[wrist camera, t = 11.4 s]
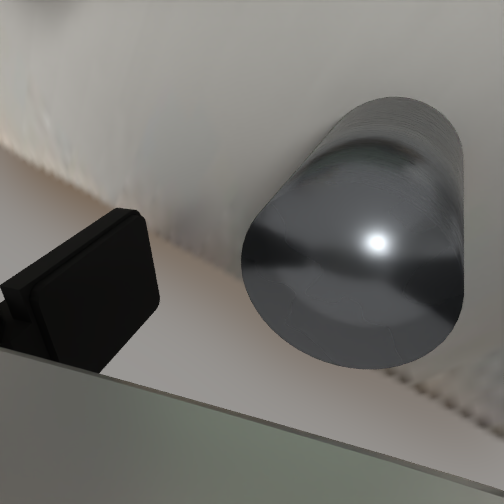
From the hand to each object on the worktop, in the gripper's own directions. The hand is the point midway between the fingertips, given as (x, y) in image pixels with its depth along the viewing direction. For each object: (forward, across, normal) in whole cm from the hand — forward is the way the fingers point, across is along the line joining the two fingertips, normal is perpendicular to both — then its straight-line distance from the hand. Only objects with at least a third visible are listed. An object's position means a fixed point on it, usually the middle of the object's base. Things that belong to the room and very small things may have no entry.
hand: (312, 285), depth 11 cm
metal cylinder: (+8, -1, 0) cm, 8 cm away
